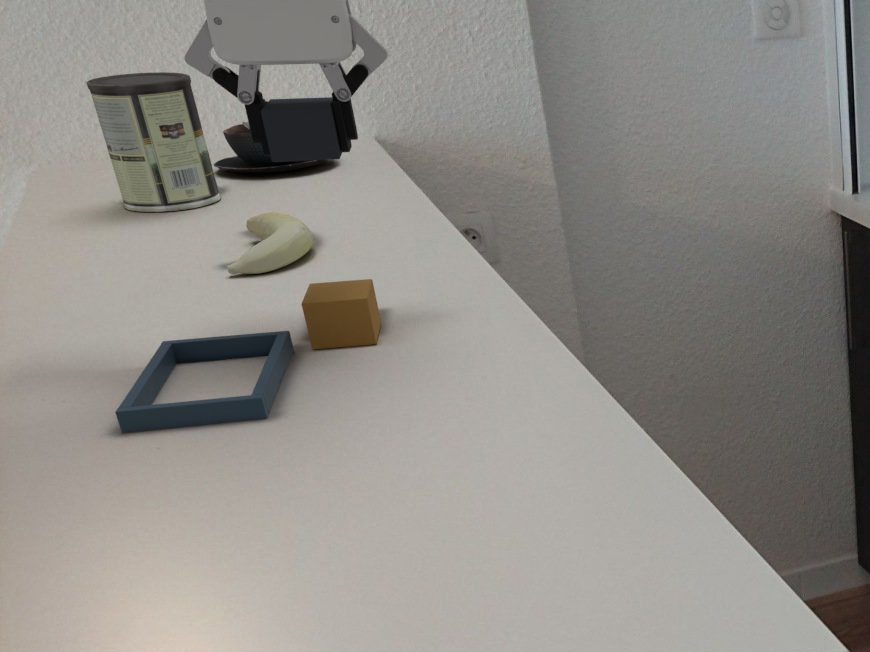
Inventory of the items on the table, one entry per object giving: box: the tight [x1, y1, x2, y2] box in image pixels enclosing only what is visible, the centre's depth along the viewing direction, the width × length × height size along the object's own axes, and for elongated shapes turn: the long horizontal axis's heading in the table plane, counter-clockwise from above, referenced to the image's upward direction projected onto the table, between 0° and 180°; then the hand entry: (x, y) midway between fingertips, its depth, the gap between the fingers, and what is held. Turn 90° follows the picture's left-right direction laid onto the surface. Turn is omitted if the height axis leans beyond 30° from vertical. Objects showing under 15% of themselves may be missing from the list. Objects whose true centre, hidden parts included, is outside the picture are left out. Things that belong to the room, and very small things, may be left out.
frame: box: [114, 330, 295, 434], centre depth 96 cm, size 16×9×2 cm, turn 18°
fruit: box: [226, 211, 314, 275], centre depth 131 cm, size 7×15×3 cm, turn 18°
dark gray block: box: [261, 96, 343, 162], centre depth 105 cm, size 6×5×4 cm
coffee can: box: [85, 71, 222, 213], centre depth 149 cm, size 10×10×14 cm
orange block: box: [301, 278, 382, 351], centre depth 109 cm, size 6×5×4 cm
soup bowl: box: [213, 120, 326, 174], centre depth 168 cm, size 15×16×7 cm
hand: (308, 148), depth 106 cm, fingers closed on dark gray block, 5 cm apart
